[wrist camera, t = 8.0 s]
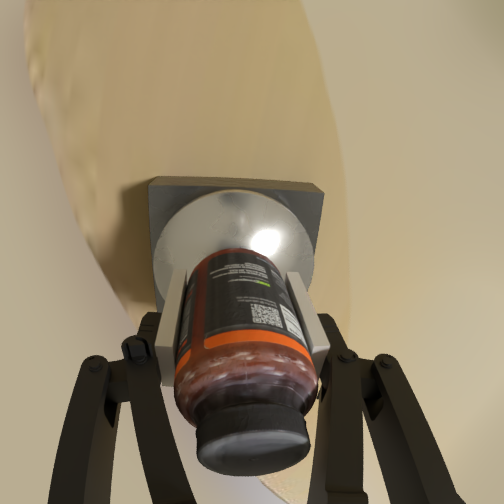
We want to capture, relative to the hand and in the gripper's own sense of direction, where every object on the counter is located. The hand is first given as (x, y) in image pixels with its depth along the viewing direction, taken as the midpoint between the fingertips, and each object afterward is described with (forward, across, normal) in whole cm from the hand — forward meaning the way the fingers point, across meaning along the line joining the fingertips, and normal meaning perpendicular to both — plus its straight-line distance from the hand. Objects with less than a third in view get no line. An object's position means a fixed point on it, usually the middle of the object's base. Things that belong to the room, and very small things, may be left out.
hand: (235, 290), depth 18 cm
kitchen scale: (+7, 0, 0) cm, 7 cm away
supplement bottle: (+1, 0, 0) cm, 1 cm away
